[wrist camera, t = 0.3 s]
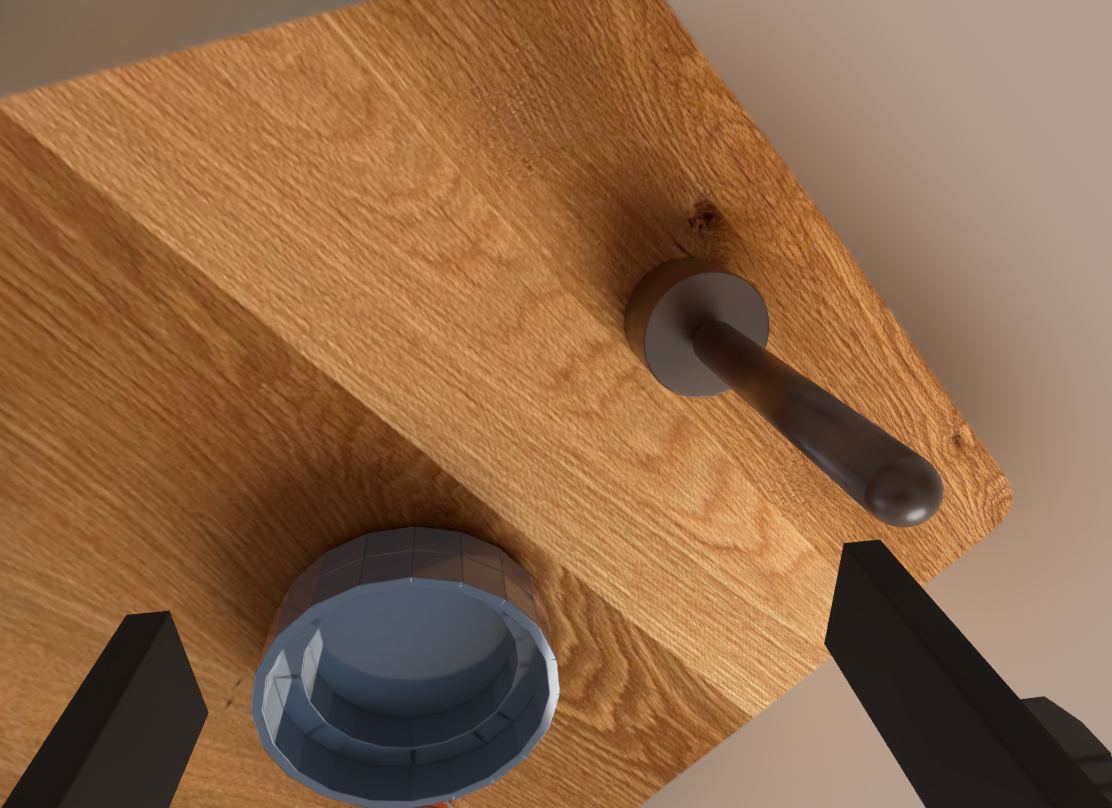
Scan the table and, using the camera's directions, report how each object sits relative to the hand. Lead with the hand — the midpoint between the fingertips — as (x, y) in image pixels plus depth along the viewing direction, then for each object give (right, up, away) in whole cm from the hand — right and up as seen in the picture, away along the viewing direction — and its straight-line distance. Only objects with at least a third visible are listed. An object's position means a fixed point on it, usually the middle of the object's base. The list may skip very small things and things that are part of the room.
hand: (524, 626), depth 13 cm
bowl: (-8, -9, +25) cm, 28 cm away
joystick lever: (+7, +9, +20) cm, 23 cm away
